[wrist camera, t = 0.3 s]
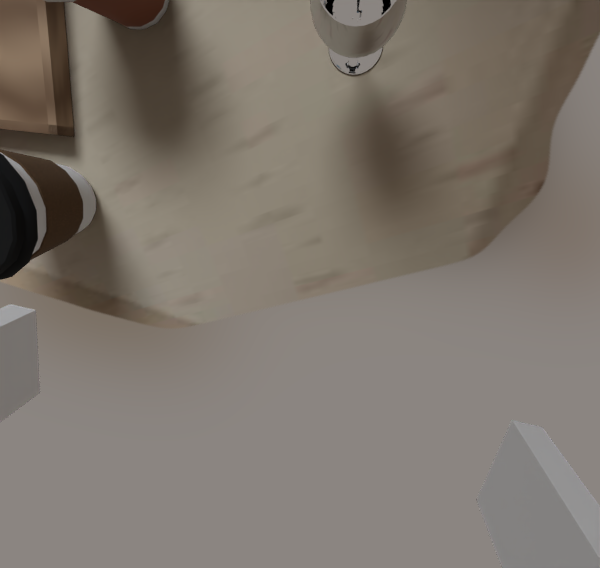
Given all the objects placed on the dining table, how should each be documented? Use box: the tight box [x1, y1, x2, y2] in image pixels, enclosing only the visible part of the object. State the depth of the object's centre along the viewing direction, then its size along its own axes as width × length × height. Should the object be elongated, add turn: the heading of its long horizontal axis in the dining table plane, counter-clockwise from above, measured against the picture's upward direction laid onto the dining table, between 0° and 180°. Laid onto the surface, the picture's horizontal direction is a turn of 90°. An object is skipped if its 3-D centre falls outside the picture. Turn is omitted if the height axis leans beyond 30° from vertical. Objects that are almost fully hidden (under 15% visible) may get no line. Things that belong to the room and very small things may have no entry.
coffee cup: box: [0, 150, 96, 279], centre depth 32 cm, size 11×11×12 cm
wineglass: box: [310, 0, 407, 75], centre depth 25 cm, size 6×6×12 cm
